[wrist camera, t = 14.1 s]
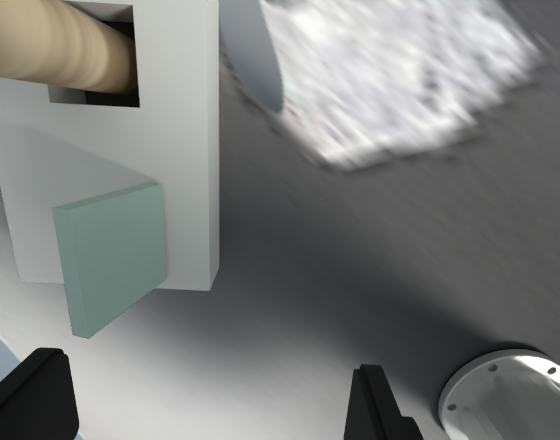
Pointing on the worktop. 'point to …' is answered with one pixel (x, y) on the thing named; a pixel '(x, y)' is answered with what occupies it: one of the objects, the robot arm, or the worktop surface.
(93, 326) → the latch flap
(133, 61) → the dowel
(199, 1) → the block
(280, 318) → the worktop surface
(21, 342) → the worktop surface
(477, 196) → the worktop surface
